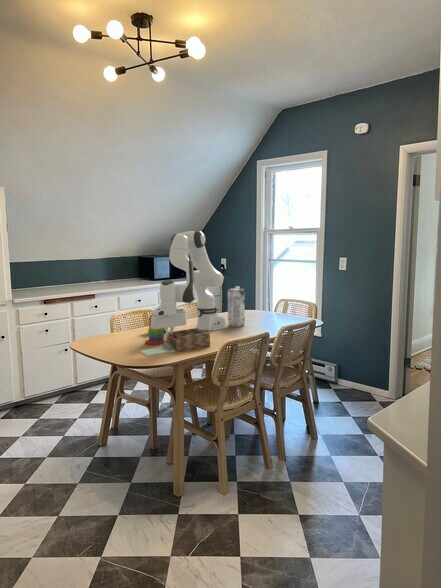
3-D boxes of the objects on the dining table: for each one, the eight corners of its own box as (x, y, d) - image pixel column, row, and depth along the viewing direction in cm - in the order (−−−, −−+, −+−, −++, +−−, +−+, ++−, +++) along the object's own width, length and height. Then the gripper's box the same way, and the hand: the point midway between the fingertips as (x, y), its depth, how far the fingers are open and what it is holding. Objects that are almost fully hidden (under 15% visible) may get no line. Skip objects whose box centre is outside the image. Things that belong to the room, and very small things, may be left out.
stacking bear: (157, 339, 262) (156, 311, 260) (168, 342, 256) (167, 312, 253) (143, 343, 254) (142, 313, 251) (155, 346, 248) (153, 315, 245)
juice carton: (238, 327, 292) (238, 288, 288) (226, 325, 298) (225, 287, 294) (246, 325, 299) (246, 286, 295) (233, 323, 305) (233, 285, 301)
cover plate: (167, 347, 246) (167, 341, 245) (176, 352, 237) (176, 345, 236) (139, 352, 237) (139, 346, 236) (147, 357, 228) (147, 350, 227)
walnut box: (197, 341, 257) (197, 327, 256) (210, 346, 246) (209, 332, 245) (167, 346, 247) (166, 332, 246) (178, 352, 235) (178, 337, 234)
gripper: (182, 307, 245) (183, 331, 247) (149, 311, 234) (149, 336, 236) (187, 309, 240) (188, 333, 241) (153, 313, 229) (154, 338, 231)
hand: (169, 335), depth 239 cm, fingers closed
